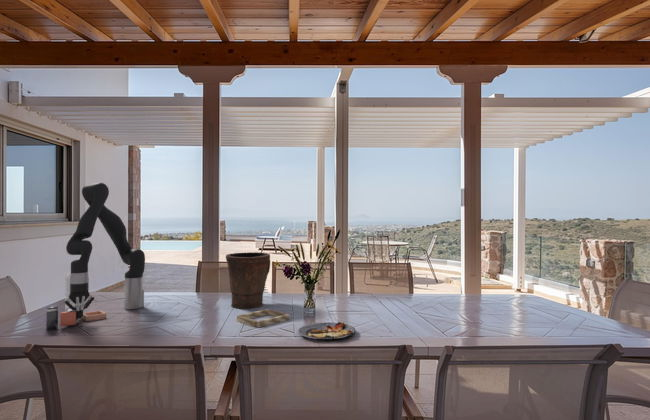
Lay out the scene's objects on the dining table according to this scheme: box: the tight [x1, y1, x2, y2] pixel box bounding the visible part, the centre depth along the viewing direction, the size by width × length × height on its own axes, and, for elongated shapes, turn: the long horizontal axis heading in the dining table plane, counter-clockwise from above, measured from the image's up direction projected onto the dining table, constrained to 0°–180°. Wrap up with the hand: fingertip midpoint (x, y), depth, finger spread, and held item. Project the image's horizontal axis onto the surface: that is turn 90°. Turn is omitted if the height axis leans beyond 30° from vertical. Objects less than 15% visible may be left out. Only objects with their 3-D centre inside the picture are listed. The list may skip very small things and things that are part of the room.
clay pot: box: [225, 251, 271, 310], centre depth 229 cm, size 25×29×30 cm
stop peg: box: [45, 305, 59, 332], centre depth 178 cm, size 4×4×10 cm
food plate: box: [298, 321, 356, 340], centre depth 171 cm, size 25×23×4 cm
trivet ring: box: [236, 308, 290, 328], centre depth 194 cm, size 21×18×2 cm
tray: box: [80, 309, 107, 323], centre depth 197 cm, size 9×9×2 cm
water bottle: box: [64, 267, 75, 312], centre depth 204 cm, size 9×6×25 cm
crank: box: [59, 307, 78, 327], centre depth 186 cm, size 12×6×6 cm, turn 25°
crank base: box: [76, 318, 84, 325], centre depth 189 cm, size 9×9×1 cm
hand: (79, 318), depth 186 cm, fingers closed
